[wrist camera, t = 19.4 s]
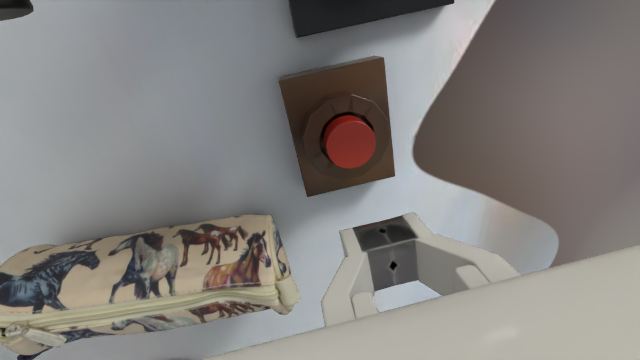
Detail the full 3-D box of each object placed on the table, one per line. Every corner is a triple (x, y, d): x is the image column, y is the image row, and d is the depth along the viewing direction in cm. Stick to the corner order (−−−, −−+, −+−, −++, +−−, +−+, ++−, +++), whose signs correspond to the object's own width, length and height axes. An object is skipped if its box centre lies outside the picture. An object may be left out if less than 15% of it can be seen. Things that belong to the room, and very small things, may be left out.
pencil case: (79, 295, 30) (0, 400, 22) (39, 223, 27) (-77, 315, 18) (297, 262, 32) (306, 346, 24) (288, 191, 29) (294, 259, 20)
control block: (387, 166, 29) (403, 185, 25) (305, 186, 29) (309, 207, 25) (375, 55, 25) (392, 58, 21) (278, 77, 24) (278, 84, 21)
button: (371, 154, 24) (378, 162, 23) (327, 164, 24) (331, 173, 22) (366, 110, 23) (373, 115, 21) (318, 120, 22) (322, 127, 21)
